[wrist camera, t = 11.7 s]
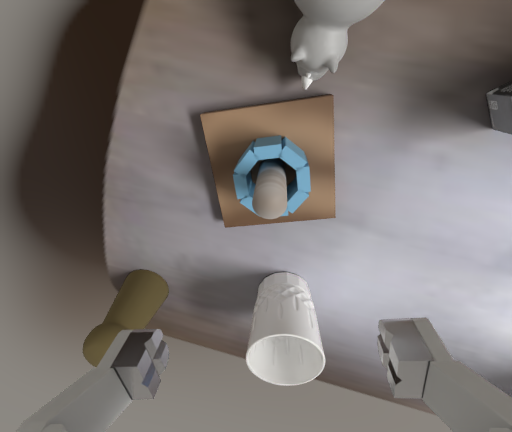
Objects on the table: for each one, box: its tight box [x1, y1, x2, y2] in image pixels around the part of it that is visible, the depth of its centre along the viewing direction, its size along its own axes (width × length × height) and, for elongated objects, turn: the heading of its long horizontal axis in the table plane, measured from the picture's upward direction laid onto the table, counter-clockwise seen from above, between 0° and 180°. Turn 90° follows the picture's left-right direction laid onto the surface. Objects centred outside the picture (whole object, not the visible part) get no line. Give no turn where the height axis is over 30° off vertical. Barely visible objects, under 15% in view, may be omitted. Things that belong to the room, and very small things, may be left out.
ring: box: [233, 135, 311, 217], centre depth 26 cm, size 7×7×4 cm
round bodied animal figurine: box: [291, 0, 385, 90], centre depth 19 cm, size 7×12×8 cm, turn 166°
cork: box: [83, 270, 169, 367], centre depth 33 cm, size 6×6×11 cm
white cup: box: [246, 272, 325, 386], centre depth 32 cm, size 8×8×10 cm
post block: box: [200, 94, 335, 227], centre depth 25 cm, size 12×12×10 cm
